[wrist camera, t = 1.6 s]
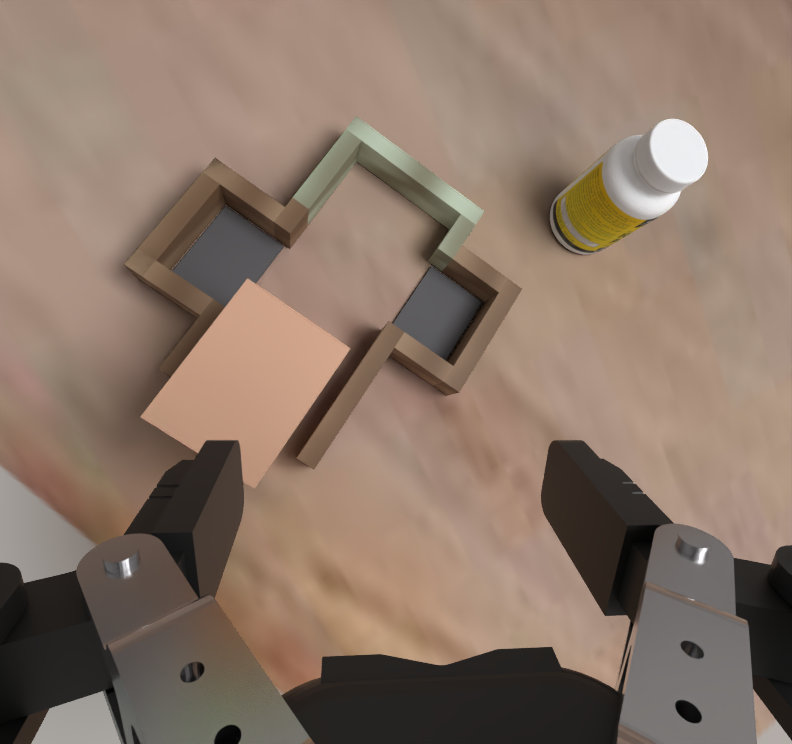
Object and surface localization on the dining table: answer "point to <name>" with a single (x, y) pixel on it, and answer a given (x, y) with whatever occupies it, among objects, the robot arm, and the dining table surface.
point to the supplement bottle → (628, 186)
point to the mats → (254, 250)
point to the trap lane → (287, 226)
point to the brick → (248, 380)
